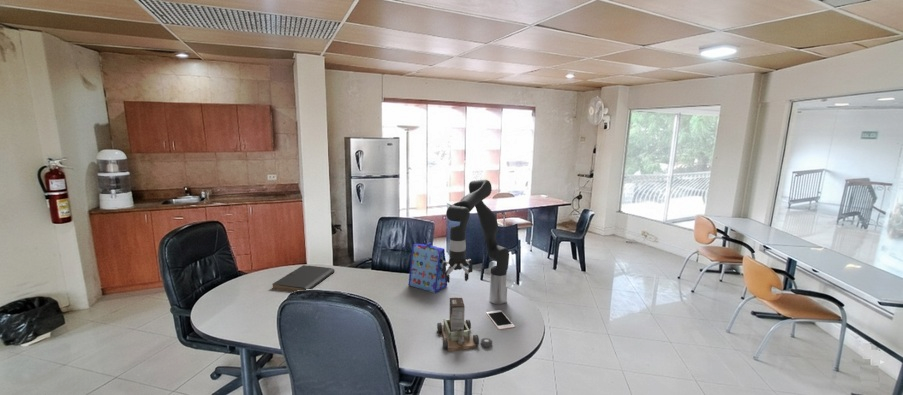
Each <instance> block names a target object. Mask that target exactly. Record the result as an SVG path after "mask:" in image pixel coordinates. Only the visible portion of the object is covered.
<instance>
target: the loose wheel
mask: <svg viewBox="0 0 903 395" xmlns="http://www.w3.org/2000/svg"><path fill="white" fill-rule="evenodd" d="M492 344H493V340H492V339H491V338H489V337H484V338H481V340H480V346H481V347H482V348H485V349H490V348H491V347H493V346H492Z"/></svg>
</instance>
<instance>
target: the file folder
mask: <svg viewBox="0 0 903 395" xmlns="http://www.w3.org/2000/svg"><path fill="white" fill-rule="evenodd" d="M334 273H335V269H334V268H332V267H327V266H326V267H324V266H318V265H317V266H316V265H306V264H303V265H301V266H300V267H298V268H296V269H294V270H293V271H291V272H289V273H288V274H286V275H285V276H283V277H282V278H280V279H278V280H277V281H274V282H273V283H272V290H281V291H290V292H297V290H306V289H311V290H312V289H313V288H315V287H316V286H317V285H319V284H320V283H322V282H323V281H324V280H326V279H327V278H329V277H330V276H332V274H334Z"/></svg>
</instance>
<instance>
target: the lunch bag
mask: <svg viewBox="0 0 903 395" xmlns="http://www.w3.org/2000/svg"><path fill="white" fill-rule="evenodd" d="M412 245H413V246H412V250H411V257H410V266H409V276H408V285H409V286H411V287H414V288H418V289H420V290H424V291H427V292H430V293H433V294H437V293H438V292H439V291H441V290H442V289H445V288H447V287H448V282H447V281H446V275H445V274H443V273H442V262H443V260H444V261H447V259H446V254H445V248H442V247H438V246H435V245H432V242H427V243H426V244H423V243H414V244H412Z"/></svg>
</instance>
